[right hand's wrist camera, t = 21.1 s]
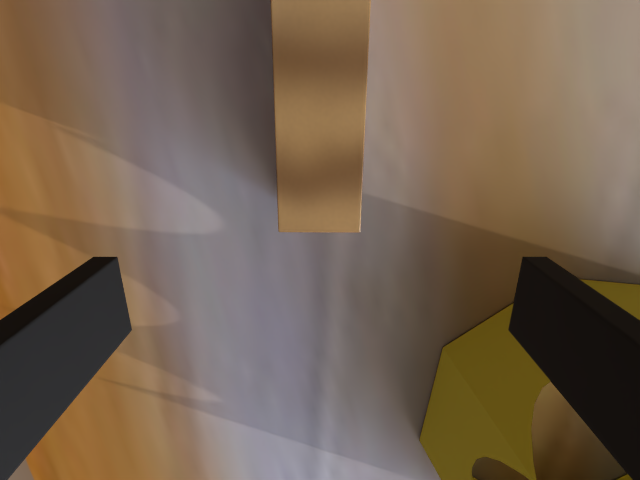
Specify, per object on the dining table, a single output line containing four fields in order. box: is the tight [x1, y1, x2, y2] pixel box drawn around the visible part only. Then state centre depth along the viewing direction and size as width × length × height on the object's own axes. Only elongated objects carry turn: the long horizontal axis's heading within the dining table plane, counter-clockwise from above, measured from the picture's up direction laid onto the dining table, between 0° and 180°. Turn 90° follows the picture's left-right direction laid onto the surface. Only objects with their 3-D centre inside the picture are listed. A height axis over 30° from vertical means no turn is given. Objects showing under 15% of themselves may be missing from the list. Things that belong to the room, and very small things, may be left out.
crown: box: [419, 279, 640, 480], centre depth 38 cm, size 36×36×15 cm
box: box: [271, 0, 371, 232], centre depth 28 cm, size 23×6×9 cm, turn 0°
